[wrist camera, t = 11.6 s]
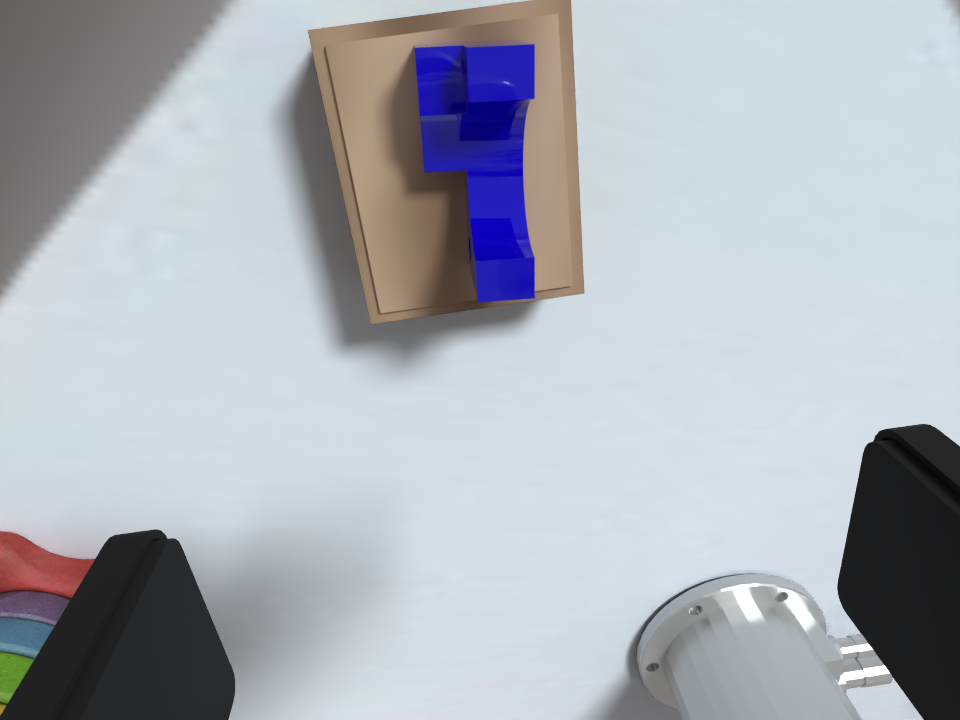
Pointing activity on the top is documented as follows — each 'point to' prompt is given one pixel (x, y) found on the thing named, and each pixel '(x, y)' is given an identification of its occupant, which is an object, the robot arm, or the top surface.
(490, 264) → the cable holder
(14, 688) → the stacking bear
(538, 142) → the plinth
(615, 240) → the top surface
